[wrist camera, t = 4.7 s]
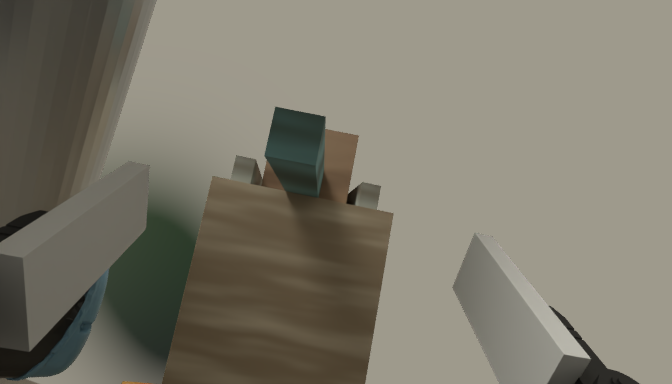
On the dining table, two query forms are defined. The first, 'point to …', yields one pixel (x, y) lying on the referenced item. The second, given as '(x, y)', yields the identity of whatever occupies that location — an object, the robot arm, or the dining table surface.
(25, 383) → the dining table surface
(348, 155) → the teal and brown block
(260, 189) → the wooden board
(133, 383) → the small box
